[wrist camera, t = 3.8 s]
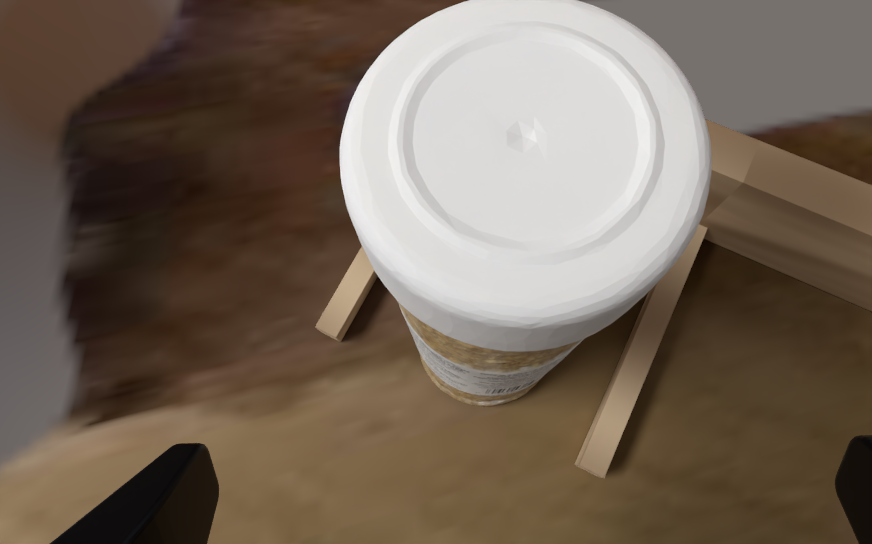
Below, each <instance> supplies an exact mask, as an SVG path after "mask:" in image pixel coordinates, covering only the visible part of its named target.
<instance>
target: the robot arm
mask: <svg viewBox="0 0 872 544" xmlns="http://www.w3.org/2000/svg"><path fill="white" fill-rule="evenodd" d="M835 488H836V492H837V495H838V498H839V500H840V503H841V505H842V507H843V509H844V511H845V514H846V516H847V518H848V520H849V522H850V525H851V527H852V529H853V531H854V533H855V536H856V538H857V540H858V542H859V544H872V435H860V436H856V437H854V438H853V439H852V440H851V441H850V443H849V445H848V447H847V450H846V452H845V455H844V457H843V460H842V462H841V464H840V467H839V469H838V472H837V474H836V478H835ZM218 497H219V484H218V480H217V477H216V474H215V470H214V467H213V464H212V460H211V457H210V454H209V451H208V449H207V447H206V446H205V445H204V444H201V443H188V444H176V445H174V446H172V447H170V448H169V449H168V450H167V451H165V452H164V453H163V454H162V455H160V456H159V457H158V458H157V459H155V460H154V461H153V462H152V463H150V464H149V465H148V466H147V467H145V468H144V469H143V470H141V471H140V472H139V473H138V474H136V475H135V476H134V477H133V478H131V479H130V480H129V481H128V482H126V483H125V484H124V485H123V486H121V487H120V488H119V489H118V490H116V491H115V492H114V493H113V494H111V495H110V496H109V497H108V498H106V499H105V500H104V501H103V502H101V503H100V504H99V505H98V506H96V507H95V508H94V509H93V510H91V511H90V512H89V513H88V514H86V515H85V516H84V517H83V518H81V519H80V520H79V521H78V522H76V523H75V524H74V525H73V526H71V527H70V528H69V529H68V530H66V531H65V532H64V533H63V534H61V535H60V536H59V537H58V538H56V539H55V540H54V541H53V542H51V543H50V544H207V541H208V538H209V534H210V530H211V526H212V522H213V518H214V514H215V510H216V506H217V502H218Z"/></svg>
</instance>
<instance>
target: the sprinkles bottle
mask: <svg viewBox="0 0 872 544" xmlns="http://www.w3.org/2000/svg"><path fill="white" fill-rule="evenodd" d="M711 170H712V153H711V143H710V137H709V132H708V128H707V124H706V121H705V118H704V114H703V110H702V108H701V106H700V104H699V101H698V99H697V97H696V94H695V92H694V91H693V89H692V87H691V85H690V83H689V81H688V80H687V78H686V77H685V75H684V74H683V72H682V71H681V70H680V68H679V67H678V65H677V64H676V63H675V62H674V61H673V60H672V59H671V58H670V56H669V55H668V54H667V53H666V52H665V51H664V50H663V49H662V48H661V47H660V46H659V45H658V44H657V43H656V42H655V41H654V40H653V39H652V38H650V37H649V36H648V35H647V34H645V33H644V32H643V31H641V30H640V29H639V28H637V27H636V26H634V25H633V24H631V23H630V22H628V21H626V20H623V19H622V18H620V17H618V16H616V15H614V14H612V13H610V12H608V11H605V10H603V9H601V8H598V7H596V6H593V5H591V4H587V3H584V2H581V1H578V0H469V1H466V2H462V3H459V4H457V5H454V6H451V7H449V8H446V9H444V10H441V11H439V12H437V13H435V14H433V15H431V16H429V17H427V18H425V19H423V20H421V21H420V22H418V23H417V24H415V25H414V26H412V27H411V28H409V29H408V30H407V31H405V32H404V33H403V34H402V35H400V36H399V37H398V38H396V39H395V40H394V41H393V42H392V43H391V44H390V45H389V46H388V47H387V48H386V49H385V50H384V51H383V52H382V53H381V54H380V56H379V57H378V58H377V59H376V61H375V62H374V63H373V64H372V66H371V67H370V68H369V69H368V71H367V72H366V74H365V76H364V77H363V79H362V80H361V82H360V83H359V85H358V87H357V89H356V92H355V94H354V96H353V98H352V100H351V103H350V106H349V109H348V112H347V116H346V119H345V123H344V127H343V131H342V135H341V142H340V172H341V183H342V188H343V192H344V197H345V202H346V206H347V209H348V212H349V215H350V218H351V220H352V223H353V225H354V228H355V230H356V233H357V235H358V237H359V240H360V242H361V244H362V246H363V248H364V250H365V253H366V255H367V257H368V259H369V261H370V263H371V265H372V267H373V269H374V271H375V272H376V274H377V275H378V277H379V278H380V280H381V281H382V283H383V284H384V285H385V287H386V288H387V289H388V290H389V291H390V293H391V294H392V295H393V296H394V297H395V299H396V300H397V301H398V303H399V306H400V308H401V311H402V313H403V315H404V318H405V320H406V322H407V324H408V327H409V329H410V331H411V334H412V336H413V338H414V341H415V343H416V346H417V348H418V351H419V352H420V356H421V361H422V363H423V366H424V368H425V370H426V372H427V374H428V375H429V377H430V378H431V379H432V380H433V382H434V383H435V384H436V385H437V386H438V388H439V389H441V390H442V391H444V392H446V393H447V394H448V395H450V396H451V397H453V398H455V399H456V400H459V401H461V402H464V403H467V404H471V405H477V406H494V405H498V404H504V403H507V402H509V401H512V400H515V399H518V398H520V397H521V396H523V395H525V394H526V393H527V392H528V391H529V390H530V389H531V388H532V387H534V386H535V385H536V384H537V383H538V381H539V380H540V379H541V378H542V377H543V376H544V375H545V374H546V373H548V372H549V371H550V370H551V369H552V368H553V367H555V366H556V365H557V364H558V363H559V362H561V361H562V360H563V359H564V358H565V357H566V356H567V355H568V354H569V353H570V352H571V351H572V350H573V349H574V348H575V347H576V346H577V345H579V344H580V343H581V342H582V341H583V340H584V339H585V338H586V337H588V336H590V335H593V334H595V333H597V332H598V331H600V330H602V329H603V328H605V327H607V326H608V325H610V324H612V323H613V322H614V321H616V320H617V319H618V318H619V317H621V316H622V315H623V314H624V313H626V312H627V311H628V310H629V309H630V308H632V307H633V306H634V305H635V304H636V303H637V302H638V301H639V300H640V299H641V298H643V297H644V296H645V295H646V294H647V293H648V292H649V291H650V290H651V289H652V288H653V287H654V286H655V285H656V284H657V283H658V282H659V281H660V280H661V279H662V278H663V276H664V275H665V274H666V273H667V272H668V271H669V270H670V269H671V268H672V267H673V265H674V264H675V263H676V261H677V260H678V259H679V258H680V256H681V255H682V254H683V252H684V251H685V249H686V248H687V246H688V244H689V243H690V241H691V239H692V238H693V236H694V234H695V232H696V229H697V227H698V225H699V223H700V220H701V218H702V216H703V213H704V209H705V205H706V201H707V198H708V193H709V186H710V179H711Z"/></svg>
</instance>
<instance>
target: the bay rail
mask: <svg viewBox="0 0 872 544" xmlns="http://www.w3.org/2000/svg"><path fill="white" fill-rule="evenodd" d="M705 121H706V124H707V128H708V132H709V137H710V143H711V153H712V170H711V179H710V186H709V193H708V198H707V201H706V205H705V209H704V213H703V216H702V218H701V220H700V223H699V225H698V227H697V229H696V232H695V234H694V236H693V238H692V239H691V241H690V243H689V244H688V246H687V248H686V249H685V251H684V252H683V254H682V255H681V256H680V258H679V259H678V260H677V261H676V263H675V264H674V265H673V267H672V268H671V269H670V270H669V271H668V272H667V273H666V274H665V275H664V276H663V278H662V279H661V280H660V281H659V282H658V283H657V284H656V285H655V286H654V287H653V288H652V289H651V290H650V291H649V292H648V295H647V297H646V299H645V302H644V304H643V306H642V309H641V311H640V313H639V316H638V318H637V320H636V323H635V325H634V327H633V330H632V332H631V334H630V336H629V339H628V341H627V343H626V346H625V348H624V350H623V353H622V355H621V357H620V360H619V362H618V364H617V367H616V369H615V371H614V374H613V376H612V378H611V381H610V383H609V385H608V388H607V390H606V392H605V395H604V397H603V399H602V402H601V404H600V406H599V409H598V411H597V413H596V416H595V418H594V420H593V422H592V425H591V427H590V429H589V432H588V434H587V436H586V439H585V441H584V443H583V446H582V448H581V450H580V453H579V455H578V457H577V460H576V462H575V464H574V465H576V466H578V467H580V468H582V469H584V470H586V471H588V472H589V473H591V474H593V475H595V476H597V477H601V478H604V477H605V475H606V472H607V470H608V467H609V465H610V463H611V460H612V458H613V455H614V453H615V451H616V448H617V446H618V443H619V441H620V438H621V436H622V434H623V431H624V429H625V426H626V424H627V422H628V419H629V417H630V414H631V412H632V410H633V407H634V405H635V402H636V400H637V397H638V395H639V393H640V390H641V388H642V385H643V383H644V381H645V378H646V376H647V373H648V371H649V369H650V366H651V364H652V361H653V359H654V356H655V354H656V352H657V349H658V347H659V344H660V342H661V340H662V337H663V335H664V332H665V330H666V327H667V325H668V323H669V320H670V318H671V315H672V313H673V311H674V308H675V306H676V303H677V301H678V299H679V296H680V294H681V291H682V289H683V286H684V284H685V282H686V279H687V277H688V274H689V272H690V270H691V267H692V265H693V262H694V260H695V258H696V255H697V253H698V250H699V248H700V245H701V243H702V241H703V239H706V240H708V241H710V242H713V243H715V244H717V245H719V246H722V247H724V248H726V249H729V250H731V251H733V252H736V253H738V254H740V255H742V256H745V257H747V258H749V259H752V260H754V261H756V262H759V263H761V264H763V265H765V266H768V267H770V268H772V269H775V270H777V271H779V272H782V273H784V274H786V275H788V276H791V277H793V278H795V279H798V280H800V281H802V282H805V283H807V284H809V285H811V286H814V287H816V288H818V289H821V290H823V291H825V292H827V293H830V294H832V295H834V296H837V297H839V298H841V299H844V300H846V301H848V302H850V303H853V304H855V305H857V306H860V307H862V308H864V309H867V310H869V311H871V312H872V185H869V184H867V183H864V182H862V181H859V180H857V179H854V178H852V177H849V176H847V175H844V174H842V173H839V172H837V171H834V170H832V169H829V168H827V167H824V166H822V165H819V164H817V163H814V162H812V161H809V160H807V159H804V158H802V157H799V156H797V155H794V154H792V153H789V152H787V151H784V150H782V149H779V148H777V147H774V146H772V145H769V144H767V143H764V142H762V141H759V140H757V139H754V138H752V137H749V136H747V135H744V134H742V133H739V132H736V131H734V130H731V129H729V128H726V127H724V126H721V125H719V124H716V123H714V122H711V121H709V120H706V119H705ZM377 277H378V275H377V274H376V272H375V271H374V269H373V267H372V265H371V263H370V261H369V259H368V257H367V255H366V253H365V250H364V248H363V246H362V247H361V249H360V251H359V252H358V254H357V256H356V257H355V259H354V261H353V263H352V264H351V266H350V268H349V269H348V271H347V273H346V275H345V276H344V278H343V280H342V281H341V283H340V285H339V287H338V288H337V290H336V292H335V293H334V295H333V297H332V299H331V300H330V302H329V304H328V305H327V307H326V309H325V311H324V312H323V314H322V316H321V317H320V319H319V321H318V323H317V324H316V326H315V327H316V328H317V329H318V330H319V331H321V332H322V333H324V334H326V335H328V336H330V337H332V338H334V339H336V340H338V341H340V342H341V341H342V339H343V337H344V335H345V333H346V332H347V330H348V328H349V326H350V325H351V323H352V321H353V319H354V318H355V316H356V314H357V312H358V311H359V309H360V307H361V305H362V303H363V302H364V300H365V298H366V296H367V295H368V293H369V291H370V289H371V288H372V286H373V284H374V282H375V281H376V279H377Z"/></svg>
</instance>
